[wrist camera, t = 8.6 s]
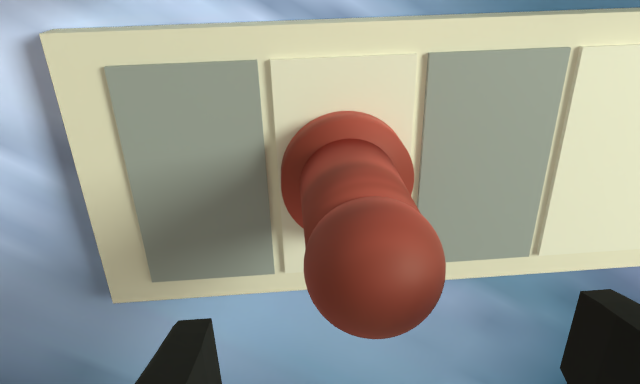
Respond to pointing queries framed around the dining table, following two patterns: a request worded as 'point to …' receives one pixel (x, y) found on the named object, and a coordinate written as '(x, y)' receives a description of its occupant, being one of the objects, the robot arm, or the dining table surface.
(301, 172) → the pawn
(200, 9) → the dining table surface
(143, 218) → the board
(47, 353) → the dining table surface
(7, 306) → the dining table surface
